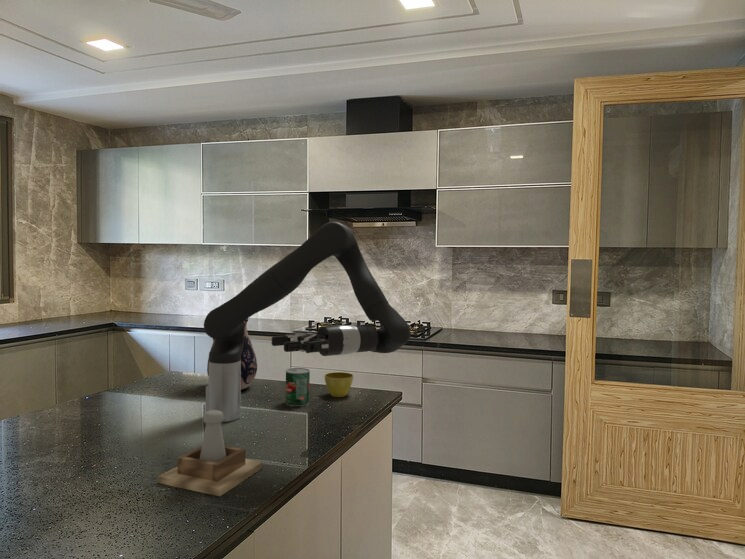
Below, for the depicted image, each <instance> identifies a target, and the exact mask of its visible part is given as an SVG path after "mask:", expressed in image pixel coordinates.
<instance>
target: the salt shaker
mask: <svg viewBox="0 0 745 559" xmlns="http://www.w3.org/2000/svg"><path fill="white" fill-rule="evenodd" d="M202 419H203V423H204V424H205V429H204V432H203V438H202V444H201V446H202V448H201V454H200V460H205V461H210V462H215V463H216V462H218V461H220V460H222V459H223V458H225V457H226V451H225V446H226V445H225V441H224V435H223V428H222V423H223V422H222V421H223V413H222V412H221V411H219V410H210V411H207V412H206V411H205V412H204V414H203V417H202Z"/></svg>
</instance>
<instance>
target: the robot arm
mask: <svg viewBox="0 0 745 559" xmlns="http://www.w3.org/2000/svg"><path fill="white" fill-rule="evenodd" d="M362 254H363V253H362V251H361V250H360V246H359V244H358V241H357V239H356V237H355V234H354V232H353V231H352V229H351V228H350V227H349V226H347V225H345V224H343V223H341V222H338V221H330V222H327V223H324V224H323V225H321V227H319V228H318V229H317V230H316V231H315V232H314V233H313V234H312V235H311V236H310V237H308V239H306V240H305V241H304V242H303V243H302V244H301V245H299V246H298V247H297V248H296V249H294V250H293V251H292V252H290V253H288V254H287V255H286V256H284V257H283V258H282V259H280V261H277V262H276V263H275V264H273V265H272V266H270V268H268V269H267V270H266V271H264V272H263V273H261V274H260V275H259V276H258V277H257V278H255V279H254V280H253V281H251V282H250V284H248V285H247V286H246V287H244V289H242V290H241V291H240V292H239V293H237V294H236V295H235V296H234V297H232V298H231V299H228V300H227V301H225V302H224V303H222V304H221V305H219V306H217V307H215V308H214V309H211V310H210V311H209V313H207V315H206V317H205V319H204V321H203V329H204V332H205V334H206V335H207V336H208V337H209V338H211V339H213V338H214V339H215V343H214V346H213V348H212V349H211V348H210V350H209V352H208V358H209V376H208V385H206V386H205V412H207V411H210V410H219V411H221V412H222V413H223V421H222V422H221V423H227V422H233V421H237V420H239V419H240V418H241V393H242V392H241V391H242V390H241V353H242V351H243V346H244V321H245V320H246V319H248V320H249V318H250V317H252V316H253V315H255V314H258V313H259V312H261V311H263V310H265V309H269V307H271V306H273V305H274V304H275V305H276V303H278V302H279V301H281V300H284V298H285V297H287V296H288V295H290V294H291V293H293V291H295V290H296V289H297V288H298V287H299V286H300V285H301V284H302V282H303V281H304V280H305V279H306V277H307V275H308V274H309V273H310V271H311V270H313V269H314V268H315V267H316V266H318V265H319V264H321V263H323V262H324V261H326V260H327V259H328V258H331V257H332V256H333V257H334V258H335V259H336V260H337V261H338V262H339V263H340V265H341V266H342V267H343V269H344V272H345V273H346V274H347V276H348V278H349V280H350V285H351V287H352V290H353V293H354V295H355V297H356V300H357V301H358V303H359V306H360V307H361V309H362V311H363V312H364V314H365V316H366V317H367V319H368V320H369V321H370V322H377V321H378V322H379V323H380V324H381V326H383V327H382V328H380V329H376V327H374V326H373V325H370V324H358V325H357V324H356V325H351V324H350V325H349V324H338V325H322V326H320V327H319V328H318V329H317V332H316V334H314V333H312V332H298V333H297V332H296V333H285V335H281V336H280V335H279V336H272V337H271V346H272V347H277V346H279V347H280V346H283V351H284V352H286V353H289V352H290V353H291V352H292V353H293V352H301V353H304V352H305V353H306V354H311V353H319V354H320V356H323V357H328V356H330V357H331V356H344V355H350V354H354V353H364V352H367V353H368V352H371V353H378V354H390V353H394V352H396V351H398V350H399V349H400V348H402V347H403V346H404V345H406V344H407V343H408V342H409V340H411V329H410V326H409V324H408V322H407V321H406V319H404V317H403V316H402V315H401V314H400V313H399V312H398V311H397V310H396V309H395V308H394V307H393V306H392V305H391V304H390V303H389V301H388V300H387V297H386V296H385V294H384V293H383V290H382V289H381V287H380V286H379V284H378V282H377V281H376V280H375V278H374V275H373V274H372V273H371V271H370V269H369V267H368V266H367V262H366V261H365V259H364V256H363V255H362ZM291 338H293V340H292V339H291Z"/></svg>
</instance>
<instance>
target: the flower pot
mask: <svg viewBox="0 0 745 559" xmlns="http://www.w3.org/2000/svg"><path fill="white" fill-rule="evenodd" d="M323 377H324V381H325V385H326V388H327V390H328V392H329V394H330V395H331V397H335V398H343V397H346V396H347V394H348V393H349V391H350V389H351V386H352V385H353V384H352V383H353V379H354V374H352V373H350V372H343V371H342V372H341V371H335V372H334V371H333V372H327V373H325V374H324V375H323Z"/></svg>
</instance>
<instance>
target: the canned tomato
mask: <svg viewBox="0 0 745 559" xmlns="http://www.w3.org/2000/svg"><path fill="white" fill-rule="evenodd" d="M310 373H311V371H310V369H308V368H305V367H291V368H287V369H285V402H284V403H285V406H288V405H289V407H293V406H301V407H305V406H304V405H306V406H308V405H309V404H310V390H311V389H310V387H311V386H310V378H311V376H310Z"/></svg>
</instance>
